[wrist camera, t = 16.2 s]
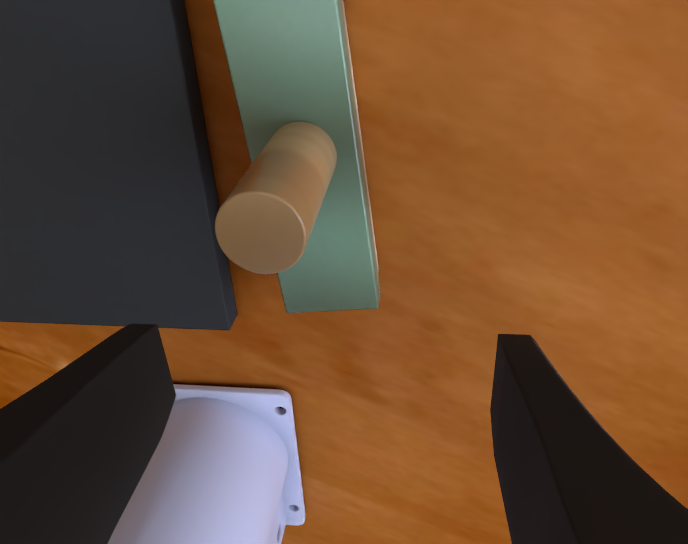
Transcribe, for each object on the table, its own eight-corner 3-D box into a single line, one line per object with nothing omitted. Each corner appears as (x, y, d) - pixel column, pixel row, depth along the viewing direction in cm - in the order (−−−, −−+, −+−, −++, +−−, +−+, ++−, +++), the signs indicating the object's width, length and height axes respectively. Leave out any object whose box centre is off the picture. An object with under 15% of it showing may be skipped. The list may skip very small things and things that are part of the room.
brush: (383, 273, 23) (365, 420, 16) (298, 279, 23) (246, 422, 17) (339, -74, 17) (281, -75, 10) (227, -55, 18) (101, -43, 11)
